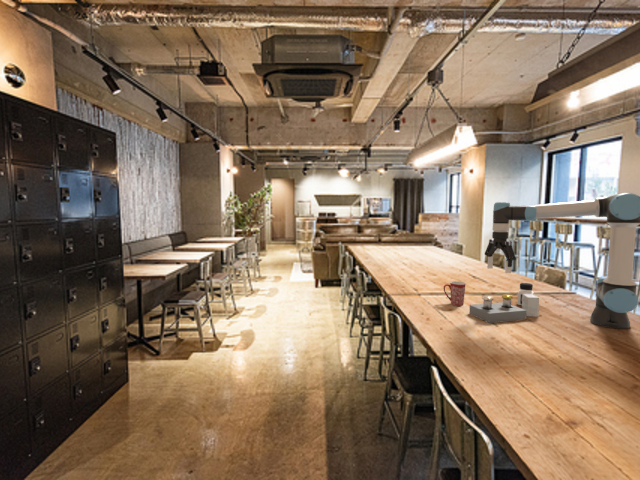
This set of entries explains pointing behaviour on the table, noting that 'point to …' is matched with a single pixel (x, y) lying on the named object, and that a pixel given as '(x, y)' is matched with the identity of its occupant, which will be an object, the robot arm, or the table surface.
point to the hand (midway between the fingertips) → (498, 270)
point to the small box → (530, 304)
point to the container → (524, 291)
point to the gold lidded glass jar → (507, 300)
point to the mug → (456, 292)
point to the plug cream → (487, 302)
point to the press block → (498, 313)
